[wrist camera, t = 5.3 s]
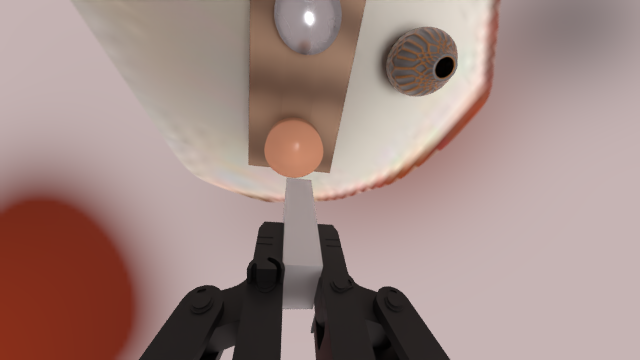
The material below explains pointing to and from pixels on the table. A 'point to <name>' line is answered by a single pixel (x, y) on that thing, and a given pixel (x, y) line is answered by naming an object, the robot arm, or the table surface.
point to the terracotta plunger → (293, 147)
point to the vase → (422, 61)
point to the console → (298, 79)
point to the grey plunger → (308, 24)
